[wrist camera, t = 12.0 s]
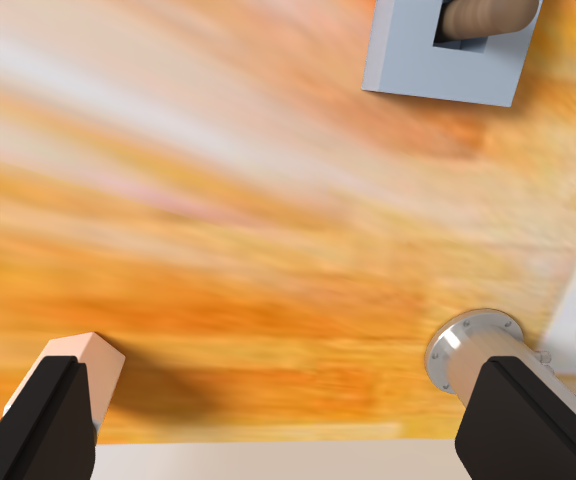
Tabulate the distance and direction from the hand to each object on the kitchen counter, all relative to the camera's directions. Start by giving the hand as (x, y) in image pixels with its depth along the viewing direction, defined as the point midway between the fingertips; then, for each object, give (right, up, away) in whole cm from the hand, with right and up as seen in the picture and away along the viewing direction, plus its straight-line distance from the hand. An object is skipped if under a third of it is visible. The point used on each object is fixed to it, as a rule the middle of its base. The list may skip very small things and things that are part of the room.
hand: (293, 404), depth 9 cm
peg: (+13, +23, +25) cm, 36 cm away
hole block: (+13, +23, +25) cm, 37 cm away
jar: (-22, -10, +34) cm, 42 cm away
